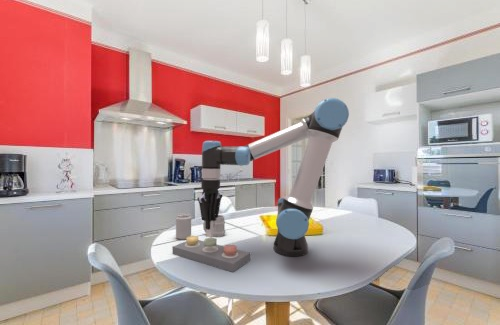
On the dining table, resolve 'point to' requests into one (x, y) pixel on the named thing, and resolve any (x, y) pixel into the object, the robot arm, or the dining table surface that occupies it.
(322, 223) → the dining table surface
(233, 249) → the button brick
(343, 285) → the dining table surface
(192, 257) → the console
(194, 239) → the button ochre
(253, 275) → the dining table surface
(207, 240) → the button sage
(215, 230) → the mug
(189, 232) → the can
